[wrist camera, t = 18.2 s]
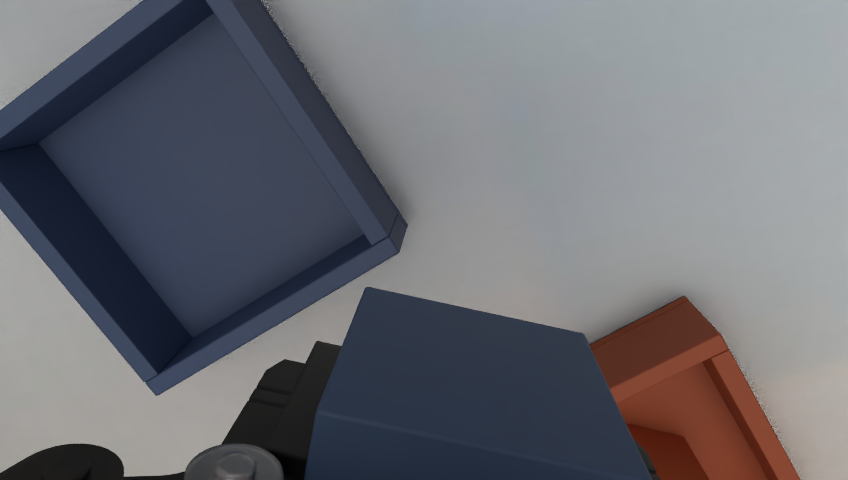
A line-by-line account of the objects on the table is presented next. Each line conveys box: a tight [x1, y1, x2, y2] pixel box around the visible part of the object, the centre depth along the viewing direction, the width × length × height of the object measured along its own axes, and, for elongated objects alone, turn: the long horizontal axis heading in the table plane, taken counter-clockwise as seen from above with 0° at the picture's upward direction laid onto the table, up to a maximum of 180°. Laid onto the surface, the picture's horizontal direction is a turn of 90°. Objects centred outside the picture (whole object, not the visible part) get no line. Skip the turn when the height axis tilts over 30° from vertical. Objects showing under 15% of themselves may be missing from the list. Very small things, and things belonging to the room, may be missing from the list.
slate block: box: [304, 287, 652, 480], centre depth 10 cm, size 4×4×4 cm
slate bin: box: [0, 0, 408, 396], centre depth 25 cm, size 13×13×4 cm
